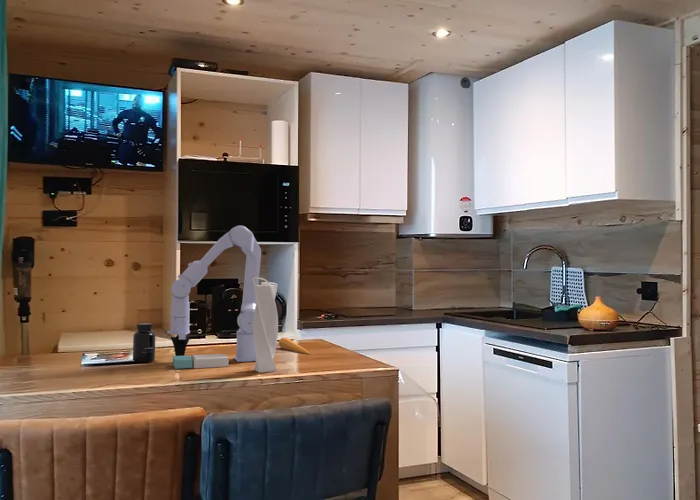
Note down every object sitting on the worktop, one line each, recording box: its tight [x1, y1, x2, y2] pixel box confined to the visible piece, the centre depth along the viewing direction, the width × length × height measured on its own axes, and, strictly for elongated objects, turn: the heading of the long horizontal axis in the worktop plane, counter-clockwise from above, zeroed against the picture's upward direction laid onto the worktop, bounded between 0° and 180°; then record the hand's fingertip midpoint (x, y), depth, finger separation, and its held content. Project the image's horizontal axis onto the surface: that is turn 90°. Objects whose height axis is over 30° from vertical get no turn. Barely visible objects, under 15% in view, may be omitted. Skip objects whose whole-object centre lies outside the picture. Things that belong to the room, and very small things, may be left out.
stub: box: [172, 355, 193, 370], centre depth 191 cm, size 5×8×2 cm, turn 21°
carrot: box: [278, 337, 312, 356], centre depth 223 cm, size 20×4×4 cm, turn 38°
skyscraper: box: [252, 276, 279, 373], centre depth 186 cm, size 8×8×28 cm
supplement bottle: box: [132, 322, 156, 363], centre depth 200 cm, size 7×7×12 cm
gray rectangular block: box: [190, 353, 229, 369], centre depth 194 cm, size 10×8×3 cm
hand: (179, 359), depth 199 cm, fingers closed
